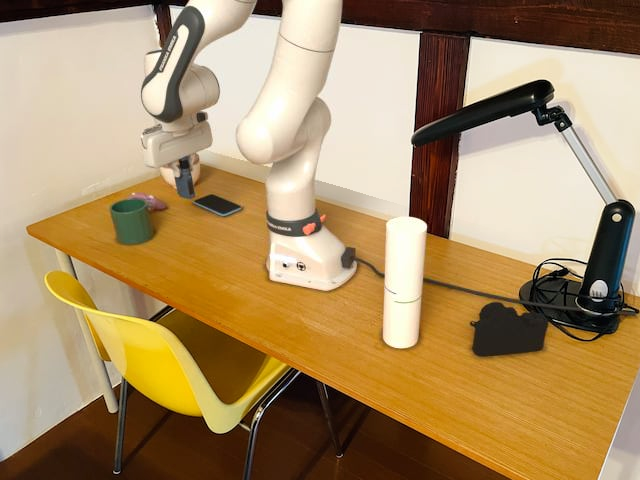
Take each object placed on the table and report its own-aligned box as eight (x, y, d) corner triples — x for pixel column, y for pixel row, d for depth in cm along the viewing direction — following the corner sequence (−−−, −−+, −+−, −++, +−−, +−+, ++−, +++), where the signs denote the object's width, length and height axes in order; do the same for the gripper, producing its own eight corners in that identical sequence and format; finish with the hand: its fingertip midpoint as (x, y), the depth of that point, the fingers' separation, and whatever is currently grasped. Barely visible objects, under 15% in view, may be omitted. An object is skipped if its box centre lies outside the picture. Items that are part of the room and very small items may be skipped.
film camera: (527, 322, 111) (535, 286, 106) (548, 352, 103) (557, 315, 98) (457, 328, 109) (462, 292, 104) (472, 360, 101) (478, 322, 96)
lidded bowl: (193, 174, 180) (187, 142, 174) (210, 185, 172) (205, 152, 166) (156, 183, 173) (149, 150, 167) (172, 195, 165) (166, 161, 159)
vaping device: (190, 200, 138) (181, 155, 132) (176, 196, 140) (167, 152, 134) (198, 196, 140) (189, 152, 133) (183, 192, 142) (175, 149, 136)
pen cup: (161, 233, 144) (154, 202, 139) (134, 247, 137) (126, 216, 132) (137, 225, 148) (130, 195, 143) (110, 239, 141) (101, 208, 136)
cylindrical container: (396, 321, 111) (401, 213, 98) (425, 335, 107) (434, 224, 94) (375, 338, 106) (378, 226, 93) (404, 353, 103) (411, 239, 89)
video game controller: (133, 213, 158) (121, 198, 152) (140, 201, 160) (128, 186, 154) (162, 217, 155) (151, 202, 149) (168, 205, 157) (158, 190, 152)
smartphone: (211, 193, 164) (243, 206, 156) (212, 195, 165) (243, 209, 157) (191, 200, 160) (223, 214, 151) (191, 203, 160) (223, 217, 152)
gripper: (149, 133, 120) (161, 190, 127) (212, 111, 135) (220, 163, 142) (129, 129, 123) (143, 185, 130) (194, 108, 138) (202, 159, 145)
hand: (184, 173), depth 136 cm, fingers closed on vaping device, 2 cm apart
